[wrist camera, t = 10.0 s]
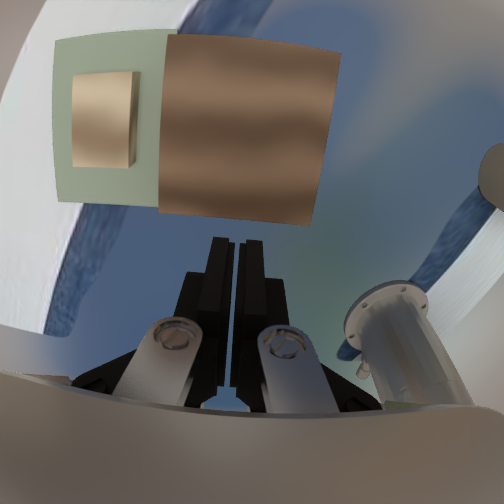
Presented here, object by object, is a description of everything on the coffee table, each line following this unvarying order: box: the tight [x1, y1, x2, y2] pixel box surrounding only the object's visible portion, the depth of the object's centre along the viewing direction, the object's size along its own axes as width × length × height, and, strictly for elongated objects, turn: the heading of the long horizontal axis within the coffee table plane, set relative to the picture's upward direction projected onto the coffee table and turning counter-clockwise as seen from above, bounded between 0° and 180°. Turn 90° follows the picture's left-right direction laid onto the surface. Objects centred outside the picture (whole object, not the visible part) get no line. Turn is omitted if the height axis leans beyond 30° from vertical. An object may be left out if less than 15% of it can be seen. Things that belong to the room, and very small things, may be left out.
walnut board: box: [158, 34, 341, 226], centre depth 27 cm, size 16×14×4 cm
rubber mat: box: [52, 29, 178, 207], centre depth 27 cm, size 18×13×1 cm
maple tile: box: [72, 72, 141, 169], centre depth 26 cm, size 9×6×2 cm, turn 173°
